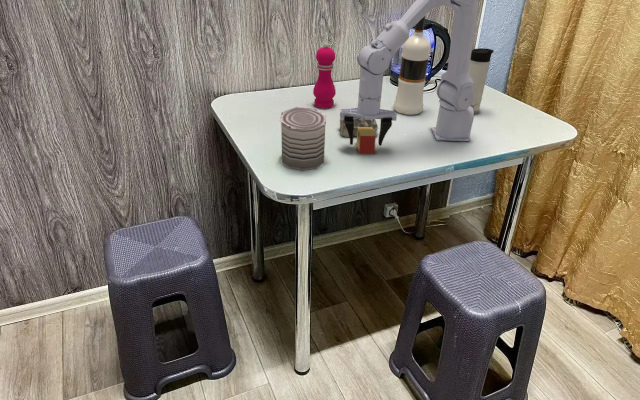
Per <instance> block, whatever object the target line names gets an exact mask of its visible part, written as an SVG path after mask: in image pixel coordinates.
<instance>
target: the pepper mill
mask: <svg viewBox="0 0 640 400" xmlns="http://www.w3.org/2000/svg"><path fill="white" fill-rule="evenodd" d="M329 46H330V44H329V43H328V42H327V41H325V42H323V44H322V47H319V49H317V51H316V53H315V60H316V61H317V63H316V64H317V66H316V68H317V69H318V76H317V80H316V82H315V84H314V86H313V90H312V95H313V96H314V106H315V107H316V108H318V109H330V108H333V107H334V103H335V100H334V99H333V98H334V97H336V94H337V93H336V91H337V89H336V86H335V83H334V82H333V78H332V71H333V69H334V62H335V60H336V52H335V51H334V49H332V48H331V47H329Z"/></svg>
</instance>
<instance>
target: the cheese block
mask: <svg viewBox="0 0 640 400" xmlns="http://www.w3.org/2000/svg"><path fill="white" fill-rule="evenodd" d="M376 138H377V136H376V135H375V133H374V130H373V128H372V127H358V131H357V136H356V147H357V150H358V154H359V155H361V154H362V155H363V154H364V155H365V154H375V149H376Z"/></svg>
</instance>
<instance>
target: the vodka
mask: <svg viewBox="0 0 640 400" xmlns="http://www.w3.org/2000/svg"><path fill="white" fill-rule="evenodd" d="M425 21H426V15H425V16H424V17H423V18H422V19H421V20H420V21H419V22H418V23H417V24H416V25H415V26H414V31H413V35H411V36H409V39H408V40H407V41H406V42H405V43H404V44H403V45H402V46H401V59H400V68H399V76H398V83H397V84H398V85H397V90H396V95H395V99H394V103H393V109H394V111H396V113H398V114H402V115H404V116H405V115H406V116H414V115H415V116H416V115H418V114H420V113H422V111H423V109H424V90H425V85H426V83H427V81H426V76H427V71H428V70H427V69H428V63H429V59H430V53H431V50H432V45H431V42H430V41H429V40H428V39H427V38H426V37H425V36H424V29H425Z"/></svg>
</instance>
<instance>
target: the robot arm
mask: <svg viewBox="0 0 640 400" xmlns="http://www.w3.org/2000/svg"><path fill="white" fill-rule="evenodd" d="M479 5H480V0H415V1H414V2H413V3H412V4H411V5H410V7H409V8H408V9H407V11H405V13H404V14H403V16H401V18H400V19H398V20H392V21H391V22H390V23H389V22H388V23H386V25H384V29H383V30H382V31H381V33H379V34H378V36H377V37H376V38H375V39H372V41H371V42H370V44H368V45H365V46H364V47H362V48H361V50H360V51H359V54H358V55H356V62H357V64H358V65H359V68H360V69H359V72H360V73H359V86H358V100H357V107H352V108H340V109H339V120H340V119H344V123H345V126H346V128H347V130H348V133H349V137H348V138H349V145H351V146H353V145H354V135H353V129H354V118H362V119H366V120H373V119H375V120H380V126H379V133H378V143H377V144H378V146H379V147H381V146H382V145H383V141H384V139H385V137H386V135H387V133H388V132H389V130H390V129H391V127H392V126H393V121H395V122H396V121H397V117H398V112H397V111H396V110H391V109H390V110H389V109H384V108H381V102H382V92H383V82H384V72H385V71H387V70H388V68H389V67H390V63H391V60H392V59H393V56H394V55H395V54H396V53H397V51H399V50H400V48H402V46H403V44H404V43H405V42H406V41H407V40H408V39H409V37H410V31H411V30H412V29H414V28H415V25H416V24H417V23H418V22H419V21H420V20H421V19H422V18H423V17H424V16H425V17H426V16H427V14H429V13H430V12H431V11H432V10H433V9H434V8H435V7H441V6H442V7H444V6H450V7H451V8H452V9H453V10H454V13H453V14H454V15H453V21H452V31H451V39H450V46H449V53H448V62H447V69H446V71H445V72H444V73H442V74H441V76H440V81H439V83H438V85H437V87H436V96H437V97H438V99H439V101H438V103H439V108H438V113H437V119H436V124H435V125H436V126H432V127H431V131H432V133H433V136H434V138H435V140H436V141H448V142H449V141H450V142H451V141H452V142H470V140H471V139H470V136H471V132H472V128H473V123H474V116H475V114H474V111H473V108H472V107H471V104H472V103H473V101H474V98H475V93H474V89H473V87H474V82H473V80H472V78H471V77H470V75H469V73H468V72H469V65H470V58H471V52H472V50H473V43H474V37H475V31H476V25H477V18H478V12H479V11H478V10H479Z"/></svg>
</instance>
